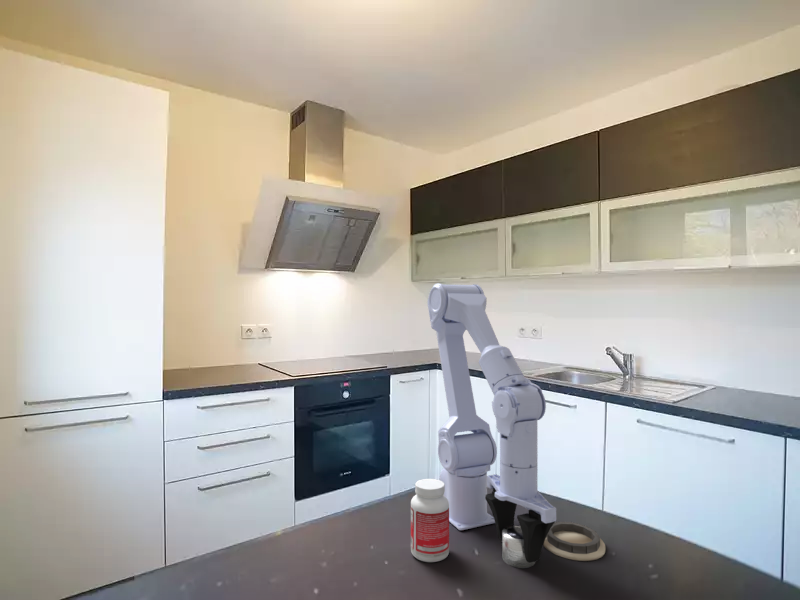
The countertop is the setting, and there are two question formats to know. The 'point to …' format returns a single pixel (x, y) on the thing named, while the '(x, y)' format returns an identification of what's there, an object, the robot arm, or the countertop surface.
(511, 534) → the lens
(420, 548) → the pill bottle
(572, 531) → the mount
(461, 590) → the countertop surface
